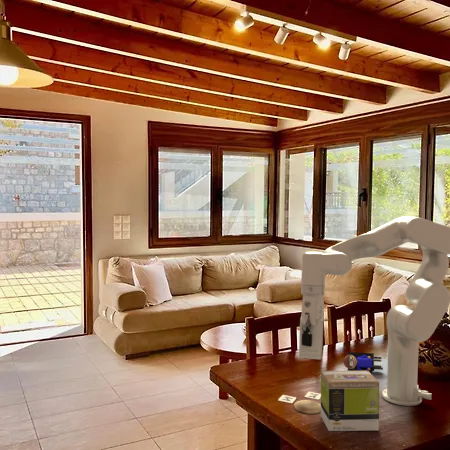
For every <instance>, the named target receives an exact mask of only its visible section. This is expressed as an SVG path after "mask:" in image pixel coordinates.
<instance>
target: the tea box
mask: <svg viewBox="0 0 450 450" xmlns="http://www.w3.org/2000/svg"><path fill="white" fill-rule="evenodd" d="M320 394H321V398H320V404H321V412H320V417H321V419H322V421H323V422H324V424H325V426H326V428H327V431H328V432H351V431H352V432H353V431H355V432H357V431H359V432H360V431H369V432H370V431H375V432H376V431H380V381H379V380H378V379H376V377H375V376H374V375H373V374H371V371H367V370H364V371H360V370H321V372H320Z"/></svg>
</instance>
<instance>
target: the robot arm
mask: <svg viewBox="0 0 450 450" xmlns="http://www.w3.org/2000/svg"><path fill="white" fill-rule="evenodd" d="M407 243H411V244H415V245H419V246H420V248H421V252H422V260H421V263H420V265H419V267H418V268H417V271H416V272H415V273H414V275H413V277H412V279H411V281H410V282H409V284H408V286H407V288H406V290H405V297H406V299H407V301H408V302H409V303H411V304H413V305H415V307H414V308H413V307H411V306H409V305H405V304H397V305H394V306H392V307H391V308H389V310H388V312H387V315H386V329H387V337H388V338H387V339H388V340H387V342H388V344H387V350H388V351H387V375H386V376H387V377H386V379H387V381H386V388H385V389H383V390H382V392H381V396H382V398H383V399H384V400H386V401H387V402H389V403H392V404H395V405H399V406H407V407H413V406H418V405H420V404H421V403H422V401H423V399H426V400H432V393H430V392H429V391H428V390H424V389H423V390H421V388H419V384H418V372H419V371H418V367H419V365H418V364H419V343H422V342H425V341H427V340H428V339H430V338H431V337H432V335H433V334H434V332H435V330H436V329H437V327H438V326H439V324H440V322H441V321H442V319H443V317H444V315H445V314H446V313H447V310H448V308H449V307H450V291H449V289H448V287H446V286H445V285H444V284H443V282H444V280H445V278H446V276H447V274H448V271H449V267H450V266H449V265H450V264H449V263H450V261H449V256H448V255H450V226H446V225H444V224H441V223H438V222H434V221H433V220H429V219H425V218H423V217H419V216H407V215H405V216H399V217H398V218H397V217H396V218H394V219H393V220H391V221H388V222H387V223H385V224H382V225H380V226H379V227H376V228H375V229H373V230H370V231H368V232H366V233H362V234H360V235H357V236H354V237H351V238H348V239H346V240H343V241H341V242H338V243H336V244H334V245H332V246H330V247H327V248H326V249H325V250H324V251H311V250H310V251H305V252H303V254H302V256H301V283H300V285H301V286H300V294H301V295H302V302H301V314H300V315H301V316H300V319H301V322H302V345H303V346H309V347H311V346H312V334H311V332H312V327H313V326H314V327H316V326H317V324H318V320H319V319H321V318H322V317H323V322H324V320H325V304H324V302H325V300H324V296H325V293H326V292H325V286H326V275H331V276H332V275H333V276H345V275H347V274H348V273H349V272H351V270H352V267H353V262H352V261H355V260H359V259H365V258H375V257H379V256H382V255H385V254H386V253H388V252H390V251H392V250H394V249H396V248H398V247H400V246H402V245H404V244H407ZM308 320H310V322H311V324H307V322H308ZM308 327H310V328H308Z"/></svg>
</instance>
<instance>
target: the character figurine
mask: <svg viewBox="0 0 450 450" xmlns="http://www.w3.org/2000/svg"><path fill="white" fill-rule="evenodd" d="M374 355H375V353H374V352H371V353H370V352H353V351H347V355H346V356H345V357H344V358H343V365H344V367H345V368H346V369H347V371H364V370H367V371H369V372H374V371H375V370H378V371H379V370H382V371H383V370H384V367H383V366H382V365H380V364H378V365H376V364H375V362H379V363H381V362H382V356H374Z"/></svg>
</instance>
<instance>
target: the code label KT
mask: <svg viewBox="0 0 450 450" xmlns="http://www.w3.org/2000/svg"><path fill="white" fill-rule="evenodd" d="M304 398H308V399H311V400H312V399H313V400H317V401H319V400H321V393H318V392H314V391H307V393H306V394H305V395H304Z"/></svg>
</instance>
